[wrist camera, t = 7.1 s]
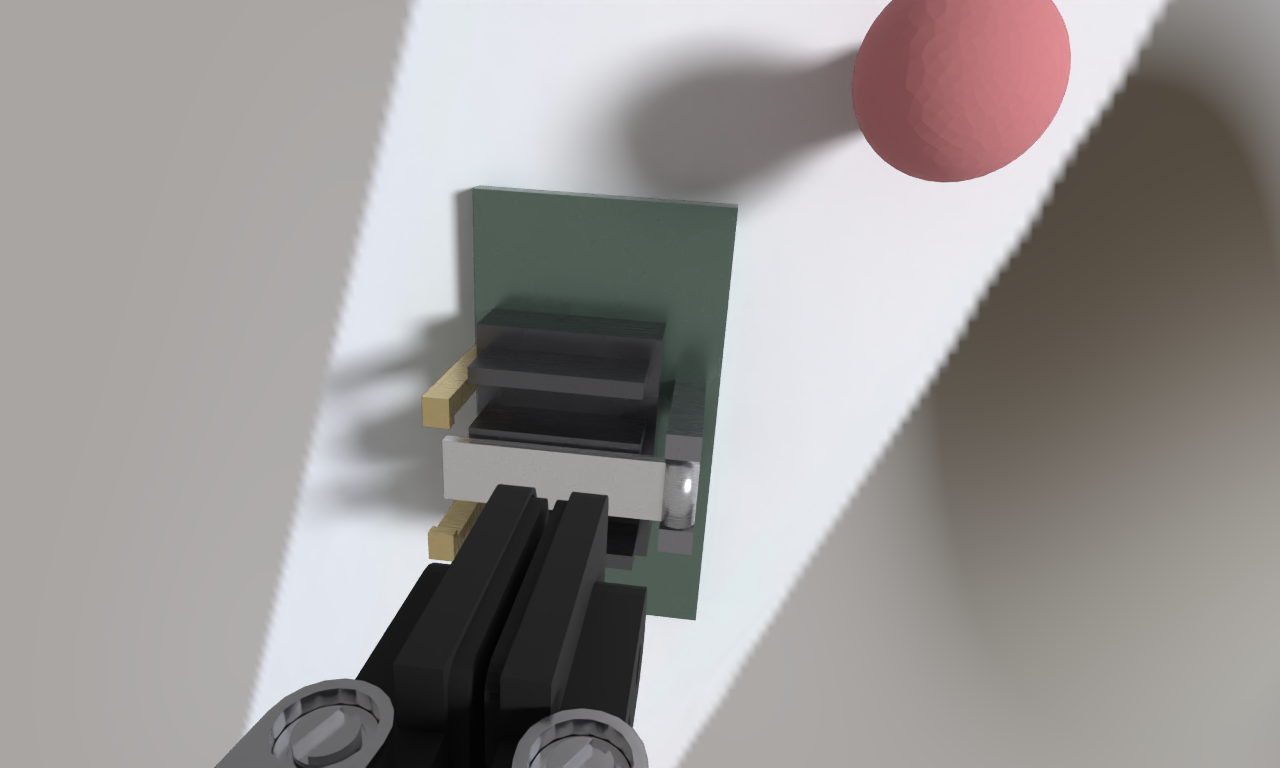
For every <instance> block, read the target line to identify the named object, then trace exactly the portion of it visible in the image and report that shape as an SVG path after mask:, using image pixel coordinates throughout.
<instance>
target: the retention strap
mask: <svg viewBox="0 0 1280 768" xmlns="http://www.w3.org/2000/svg"><path fill="white" fill-rule="evenodd" d="M442 451H443V479H444V499H453V500H463V501H472V502H482V503H487V502H488V500H489V498H490V496H491V495H492V493H493V491H494V490H495V488H496V486H497V485H498V484H506V485H515V486H525V487H534V488H535V489H536V493H537V497H539V498H547V499H548V509H549V510H553V508H554V505H555V503H556V501H557V500H569V497H570V495H571V493H572V492H582V493H591V494H601V495H608V498H609V509H608V516H615V517H625V518H634V519H644V520H654V521H661V522H662V523H663V524H664V525H666V526H668V527H671V528H675V529H684V528H688V527H691V526H692V525H693V524H694V522H695V512H696V502H697V492H698V482H699V471H700V462H692V461H682V460H672V459H664V458H665V457H661V456H650V455H640V454H630V453H620V452H610V451H600V450H590V449H579V448H569V447H559V446H549V445H539V444H529V443H519V442H508V441H498V440H488V439H478V438H468V437H458V436H448V435H446V437H445V438H444V439H443V440H442Z"/></svg>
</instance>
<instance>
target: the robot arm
mask: <svg viewBox="0 0 1280 768" xmlns="http://www.w3.org/2000/svg"><path fill="white" fill-rule="evenodd" d="M608 509H609V498H608V495H601V494H591V493H582V492H572V493H571V495H570V497H569V500H557V501H556V503H555V505H554V508H553V510H552V512H551V515H550V517H549V520H548V499H547V498H539V497H537V493H536V489H535V488H534V487H525V486H515V485H506V484H498V485H497V486H496V488H495V490H494V491H493V493H492V495H491V496H490V498H489V500H488V502H487V503H486V505H485V507H484V508H483V510H482V512H481V514H480V515H479V517H478V519H477V520H476V522H475V524H474V526H473V527H472V529H471V531H470V532H469V534H468V536H467V538H466V539H465V541H464V543H463V544H462V546H461V548H460V550H459V551H458V553H457V555H456V556H455V558H454V560H453V562H452V563H451V565H450V564H441V563H432V564H429V565H428V566H427V568H426V569H425V570H424V571H423V573H422V575H421V576H420V578H419V579H418V581H417V582H416V584H415V586H414V587H413V589H412V590H411V592H410V594H409V595H408V597H407V598H406V600H405V601H404V603H403V605H402V606H401V608H400V609H399V611H398V613H397V614H396V616H395V617H394V619H393V620H392V622H391V624H390V625H389V627H388V628H387V630H386V632H385V633H384V635H383V636H382V638H381V639H380V641H379V643H378V644H377V646H376V647H375V649H374V650H373V652H372V654H371V655H370V657H369V658H368V660H367V662H366V663H365V665H364V666H363V668H362V669H361V671H360V673H359V674H358V676H357V677H356V679H355V680H353V679H336V680H326V681H322V682H319V683H315V684H312V685H309V686H306V687H303V688H301V689H299V690H297V691H296V692H294V693H292V694H290V695H288V696H286V697H284V698H283V699H282V700H281V701H280V702H278V703H277V704H276V705H275V706H274V707H272V708H271V709H270V710H269V711H268V712H267V713H266V714H265V715H264V716H263V717H262V718H261V719H260V720H259V721H258V722H257V723H256V724H255V725H254V726H253V727H252V729H251V730H250V731H249V732H248V733H247V734H246V735H245V736H244V737H243V738H242V739H241V740H240V741H239V742H238V743H237V744H236V745H235V746H234V747H233V749H232V750H230V752H229V753H228V754H227V755H226V756H225V757H224V758H223V759H222V760H221V761H220V762H219V763H218V764H217V765H216V766H215V767H214V768H649V767H648V758H647V754H646V750H645V746H644V743H643V742H642V740H641V739H640V737H639V736H638V734H637V733H636V732H635V730H634V729H633V722H634V715H635V708H636V701H637V694H638V687H639V680H640V671H641V663H642V653H643V643H644V632H645V619H646V606H647V587H643V586H634V585H626V584H617V583H608V582H605V566H606V547H607V528H608Z"/></svg>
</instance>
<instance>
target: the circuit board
mask: <svg viewBox="0 0 1280 768" xmlns="http://www.w3.org/2000/svg"><path fill="white" fill-rule="evenodd" d="M737 212H738V205H736V204H722V203H709V202H695V201H682V200H668V199H654V198H641V197H627V196H614V195H600V194H587V193H573V192H559V191H546V190H532V189H519V188H505V187H492V186H478V187H475V188H473V227H474V281H475V336H476V343H475V344H474V345H473V346H472V347H471V348H470V349H469V350H468V351H467V352H466V353H465V354H464V355H463V356H462V357H461V358H460V359H459V360H458V361H457V362H456V363H455V364H454V365H453V366H452V367H451V368H450V369H449V370H448V371H447V372H446V373H445V374H444V375H443V376H442V377H441V378H440V379H439V380H438V381H437V382H436V383H435V384H434V385H433V386H432V387H431V388H430V389H429V390H428V391H427V392H426V393H425V394H424V395H423V396H422V417H423V426H424V427H434V428H444V429H450V428H451V427H452V426H453V424H454V415H455V413H456V412H457V411H458V410H459V409H460V408H461V406H462V405H463V404H464V403H465V402H466V401H467V399H468V398H469V397H470V396H471V395H472V394H473V392H474V391H475V390H477V418H476V419H475V420H474V422H473V423H472V424H471V426H470V427H469V438H478V439H488V440H498V441H508V442H519V443H529V444H539V445H549V446H559V447H569V448H579V449H590V450H600V451H610V452H620V453H630V454H640V455H650V456H661V457H665V458H664V459H672V460H682V461H692V462H700V471H699V482H698V492H697V502H696V512H695V522H694V524H693V525H692V526H691V527H688V528H684V529H675V528H671V527H668V526H666V525H664V524H663V523H662V522H661V521H654V520H644V519H634V518H625V517H615V516H608V528H607V547H606V566H605V582H608V583H617V584H626V585H634V586H643V587H647V606H646V615H654V616H662V617H671V618H680V619H688V620H696V610H697V600H698V591H699V581H700V571H701V562H702V552H703V542H704V532H705V523H706V513H707V503H708V494H709V484H710V474H711V465H712V455H713V445H714V435H715V426H716V416H717V406H718V397H719V387H720V377H721V367H722V358H723V348H724V338H725V329H726V319H727V309H728V300H729V290H730V280H731V270H732V261H733V251H734V241H735V232H736V222H737ZM485 505H486V503H482V502H472V501H463V500H455V501H454V503H453V504H452V506H451V507H450V509H449V510H448V512H447V513H446V515H445V516H444V518H443V519H442V521H441V522H440V524H439V525H438V527H435V526H432V528H431V529H430V531H429V532H428V547H429V559H435V560H444V561H453V560H454V558H455V556H456V555H457V553H458V551H459V550H460V548H461V546H462V544H463V543H464V541H465V539H466V538H467V536H468V534H469V532H470V531H471V529H472V527H473V526H474V524H475V522H476V520H477V519H478V517H479V515H480V514H481V512H482V510H483V508H484V507H485ZM551 512H552V510H549V509H548V520H549V517H550V515H551Z"/></svg>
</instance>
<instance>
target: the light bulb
mask: <svg viewBox="0 0 1280 768" xmlns="http://www.w3.org/2000/svg"><path fill="white" fill-rule="evenodd" d="M1070 64H1071V52H1070V44H1069V36H1068V32H1067V29H1066V26H1065V23H1064V20H1063V18H1062V16H1061V15H1060V13H1059V11H1058V9H1057V7H1056V5H1055V4H1054V3H1053V1H1052V0H892V1H891V2H890V3H889V4H888V5H887V6H886V7H885V8H884V9H883V11H882V12H881V13H880V15H879V16H878V17H877V18H876V20H875V21H874V22H873V24H872V26H871V27H870V29H869V31H868V32H867V34H866V36H865V38H864V40H863V43H862V45H861V48H860V50H859V53H858V55H857V59H856V63H855V67H854V73H853V83H852V93H853V105H854V110H855V114H856V118H857V121H858V123H859V126H860V129H861V131H862V133H863V134H864V136H865V138H866V140H867V142H868V143H869V144H870V146H871V147H872V148H873V149H874V151H875V152H876V153H877V154H878V155H879V156H880V157H881V158H882V159H883V160H884V161H885V162H887V163H888V164H890V165H891V166H892V167H894V168H895V169H897V170H899V171H901V172H903V173H905V174H907V175H909V176H912V177H916V178H919V179H923V180H927V181H935V182H959V181H964V180H970V179H974V178H977V177H981V176H985V175H987V174H989V173H991V172H994V171H996V170H998V169H1000V168H1003V167H1004V166H1006V165H1007V164H1009V163H1010V162H1012V161H1013V160H1015V159H1017V158H1018V157H1019V156H1021V155H1022V154H1023V153H1024V152H1025V151H1027V150H1028V149H1029V148H1030V147H1031V146H1032V145H1033V144H1034V143H1035V142H1036V141H1037V140H1038V139H1039V138H1040V137H1041V136H1042V134H1043V133H1044V131H1045V130H1046V129H1047V127H1048V126H1049V125H1050V123H1051V122H1052V120H1053V118H1054V117H1055V115H1056V113H1057V111H1058V109H1059V107H1060V105H1061V103H1062V100H1063V97H1064V95H1065V92H1066V88H1067V85H1068V80H1069V74H1070Z"/></svg>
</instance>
